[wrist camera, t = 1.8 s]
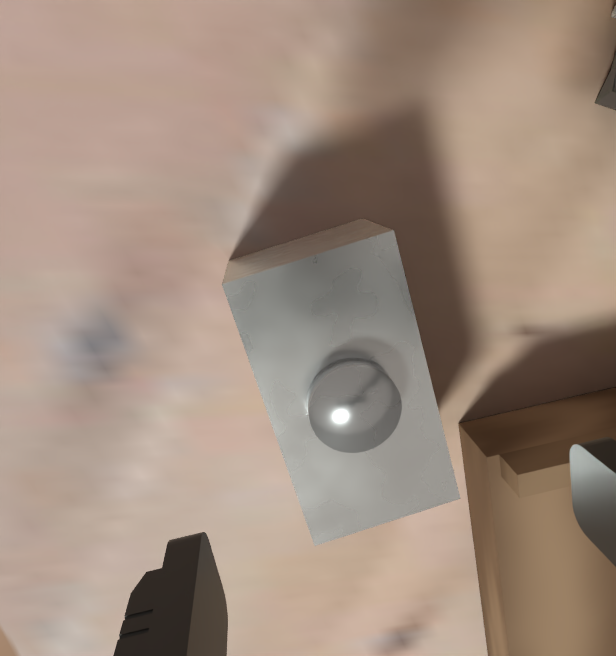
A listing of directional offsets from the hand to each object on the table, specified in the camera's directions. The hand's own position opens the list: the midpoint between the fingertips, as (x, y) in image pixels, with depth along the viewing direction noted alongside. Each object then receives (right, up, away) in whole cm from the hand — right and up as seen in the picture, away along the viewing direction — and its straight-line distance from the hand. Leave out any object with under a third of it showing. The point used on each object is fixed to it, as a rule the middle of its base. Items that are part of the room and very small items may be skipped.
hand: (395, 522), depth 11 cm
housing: (-1, +3, +11) cm, 12 cm away
